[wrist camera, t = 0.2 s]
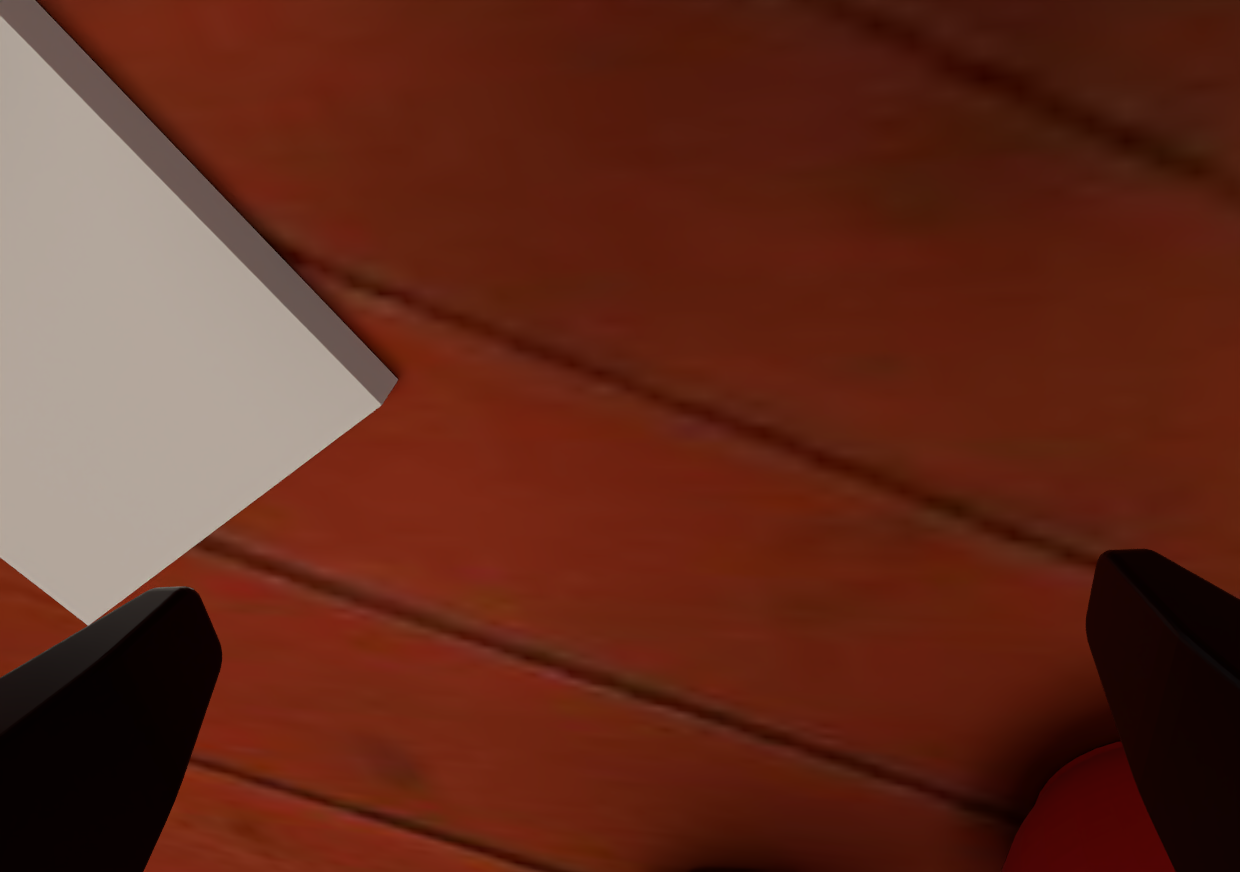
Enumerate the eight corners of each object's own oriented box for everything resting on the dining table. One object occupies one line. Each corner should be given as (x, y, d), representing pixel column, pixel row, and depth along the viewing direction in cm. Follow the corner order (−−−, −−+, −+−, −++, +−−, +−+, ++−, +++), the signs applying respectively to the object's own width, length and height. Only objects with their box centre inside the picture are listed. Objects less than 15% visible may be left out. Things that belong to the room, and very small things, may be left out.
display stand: (398, 379, 25) (342, 465, 21) (115, 594, 29) (25, 697, 25) (-13, -50, 20) (-185, -44, 16) (-272, 284, 25) (-455, 351, 21)
